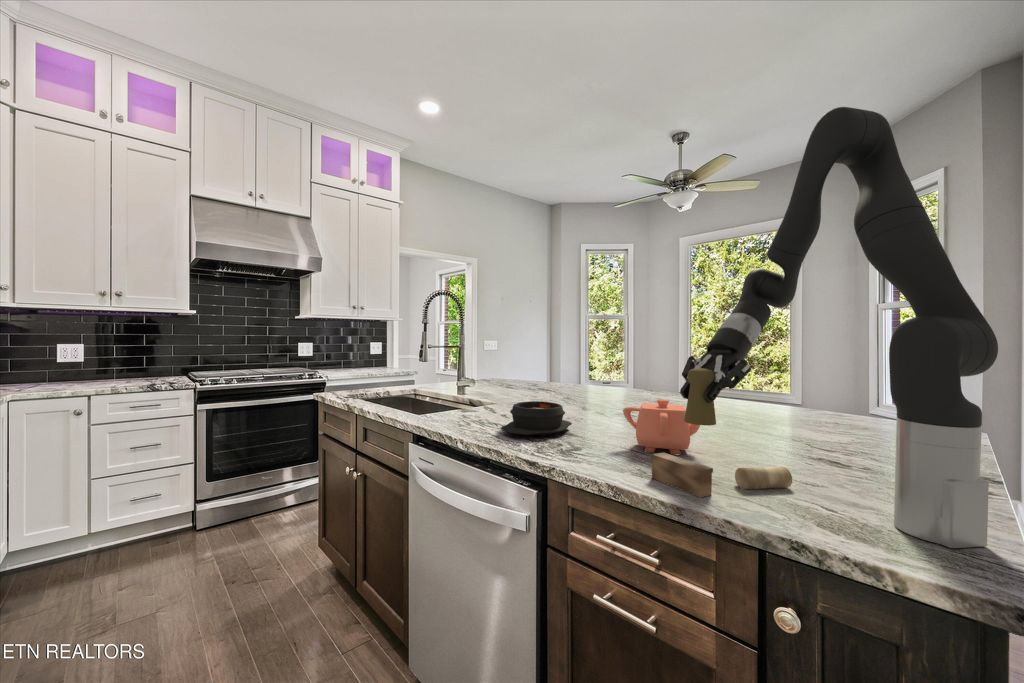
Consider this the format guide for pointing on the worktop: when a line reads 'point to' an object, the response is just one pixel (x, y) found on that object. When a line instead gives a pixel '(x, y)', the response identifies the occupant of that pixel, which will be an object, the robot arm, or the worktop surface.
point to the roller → (763, 477)
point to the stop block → (682, 474)
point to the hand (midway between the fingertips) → (694, 397)
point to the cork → (700, 398)
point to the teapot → (661, 426)
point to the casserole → (536, 418)
